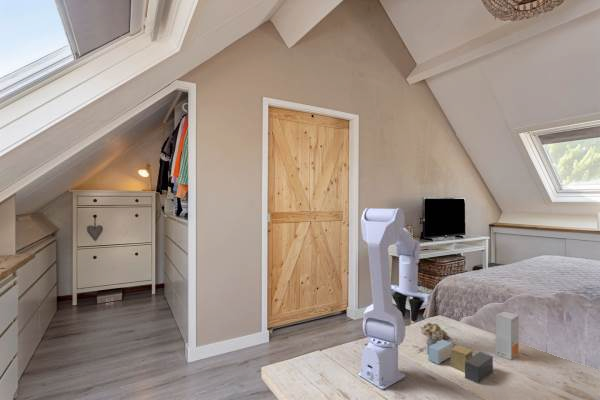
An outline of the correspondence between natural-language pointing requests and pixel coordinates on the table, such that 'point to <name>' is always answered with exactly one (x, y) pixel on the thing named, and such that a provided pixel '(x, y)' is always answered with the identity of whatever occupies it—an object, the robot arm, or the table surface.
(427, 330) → the mineral rock
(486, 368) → the grey block
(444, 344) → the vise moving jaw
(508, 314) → the skincare box
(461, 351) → the brass block
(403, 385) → the table surface
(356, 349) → the table surface
